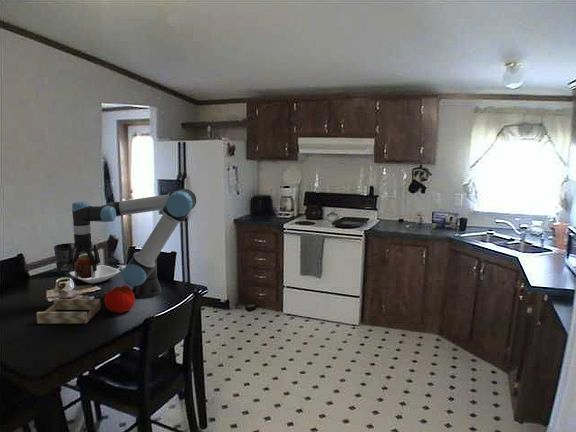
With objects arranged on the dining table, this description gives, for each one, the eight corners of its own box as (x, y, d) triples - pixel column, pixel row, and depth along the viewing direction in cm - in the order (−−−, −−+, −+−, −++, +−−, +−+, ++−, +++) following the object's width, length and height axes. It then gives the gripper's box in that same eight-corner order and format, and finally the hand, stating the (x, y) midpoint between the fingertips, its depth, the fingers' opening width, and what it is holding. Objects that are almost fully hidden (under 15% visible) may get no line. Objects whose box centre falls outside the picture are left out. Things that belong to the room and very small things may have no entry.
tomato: (122, 318, 189) (121, 294, 187) (98, 313, 193) (97, 290, 191) (141, 307, 201) (140, 285, 199) (119, 303, 206) (117, 281, 204)
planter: (83, 273, 250) (81, 245, 247) (60, 278, 241) (58, 249, 238) (75, 268, 259) (73, 242, 256) (53, 273, 250) (50, 245, 246)
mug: (84, 273, 210) (83, 254, 208) (99, 274, 208) (98, 255, 206) (68, 280, 198) (66, 260, 197) (83, 282, 197) (82, 262, 195)
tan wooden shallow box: (100, 308, 199) (100, 299, 198) (86, 323, 182) (85, 312, 182) (55, 308, 197) (54, 299, 196) (37, 323, 181) (36, 313, 180)
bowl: (102, 272, 253) (102, 263, 252) (124, 280, 240) (123, 271, 239) (66, 281, 235) (65, 272, 234) (87, 290, 222) (86, 280, 221)
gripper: (106, 231, 204) (108, 275, 208) (64, 231, 202) (68, 274, 206) (100, 234, 196) (103, 279, 200) (57, 234, 195) (60, 279, 199)
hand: (85, 277), depth 203 cm, fingers closed on mug, 7 cm apart
